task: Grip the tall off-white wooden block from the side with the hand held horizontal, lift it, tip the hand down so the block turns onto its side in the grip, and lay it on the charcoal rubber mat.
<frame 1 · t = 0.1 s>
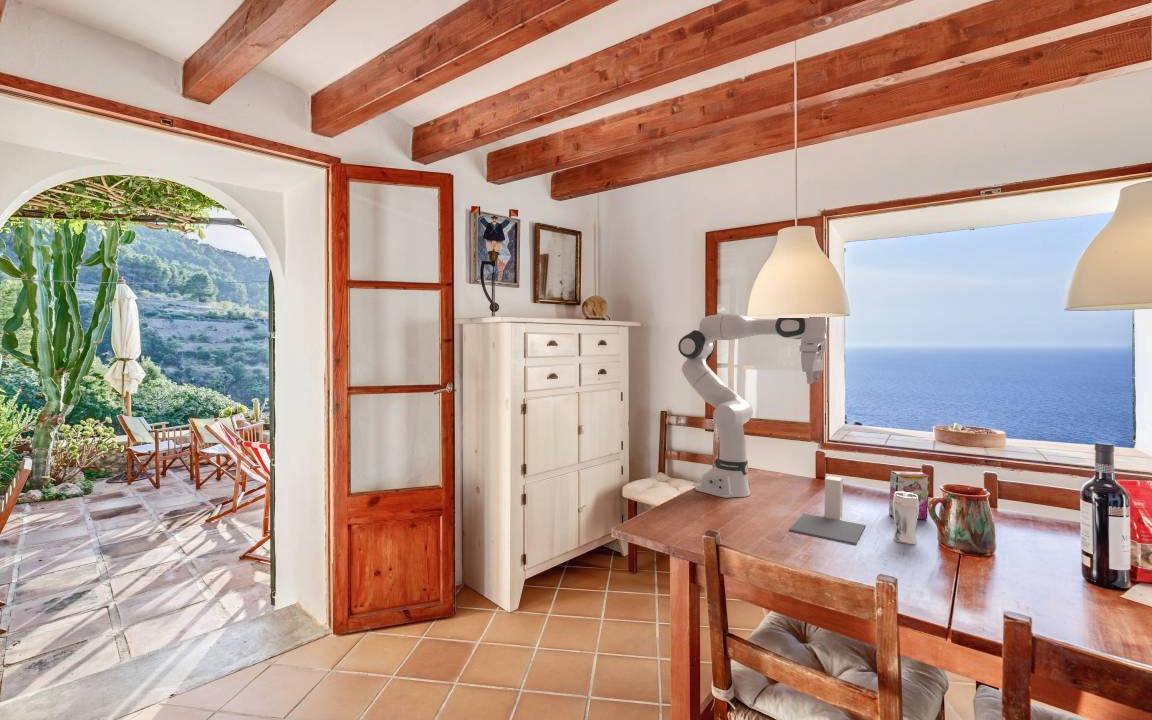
hand: (812, 383, 198), 48 cm above the table, tool pointing down, fingers open, 8 cm apart
white block: (833, 516, 188), on the table
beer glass: (904, 541, 165), on the table
candy bar box: (908, 518, 187), on the table
rubber mat: (827, 528, 176), on the table
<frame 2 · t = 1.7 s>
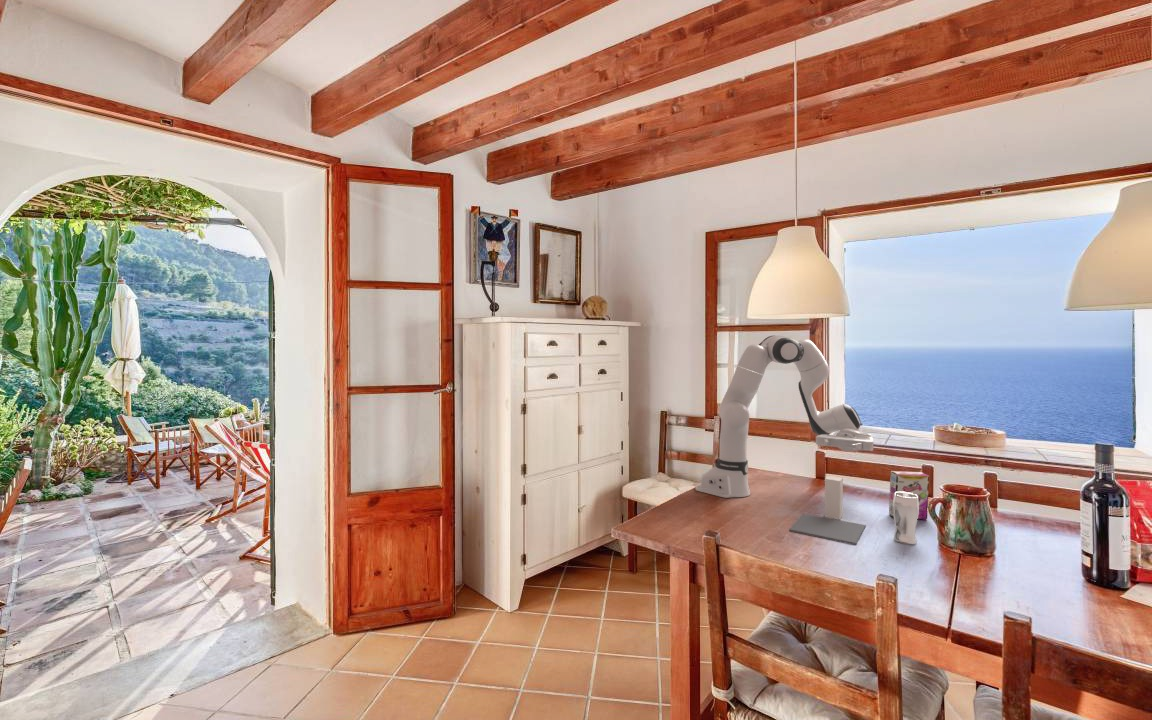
hand: (840, 445, 197), 24 cm above the table, tool horizontal, fingers open, 8 cm apart
nothing on the table moved.
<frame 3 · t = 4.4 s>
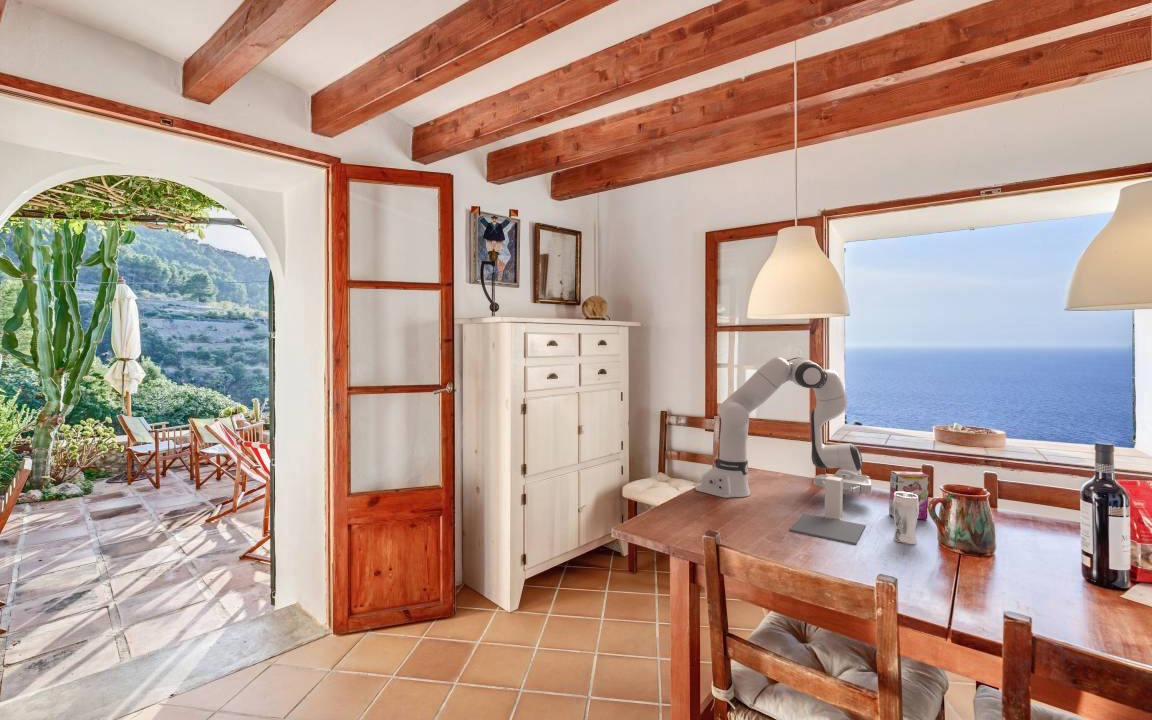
hand: (838, 488, 196), 8 cm above the table, tool horizontal, fingers open, 8 cm apart
nothing on the table moved.
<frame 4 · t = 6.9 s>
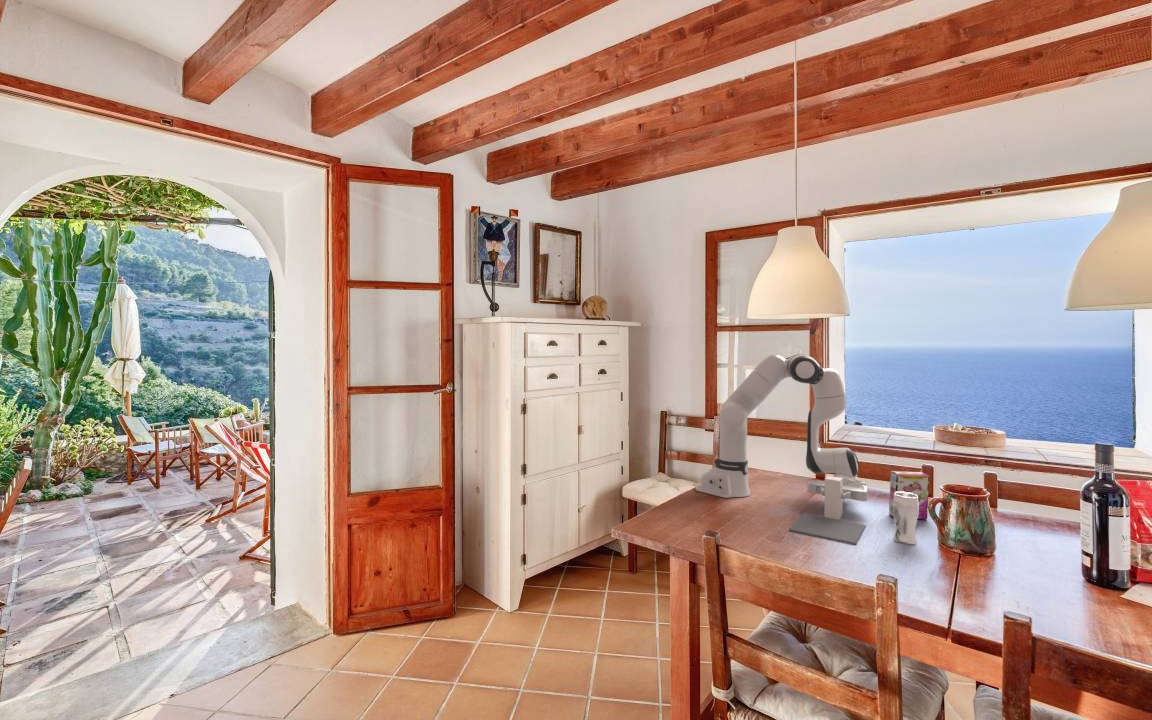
hand: (833, 495, 187), 8 cm above the table, tool horizontal, fingers closed on white block, 5 cm apart
white block: (833, 516, 188), on the table, touching gripper
everything else where it was.
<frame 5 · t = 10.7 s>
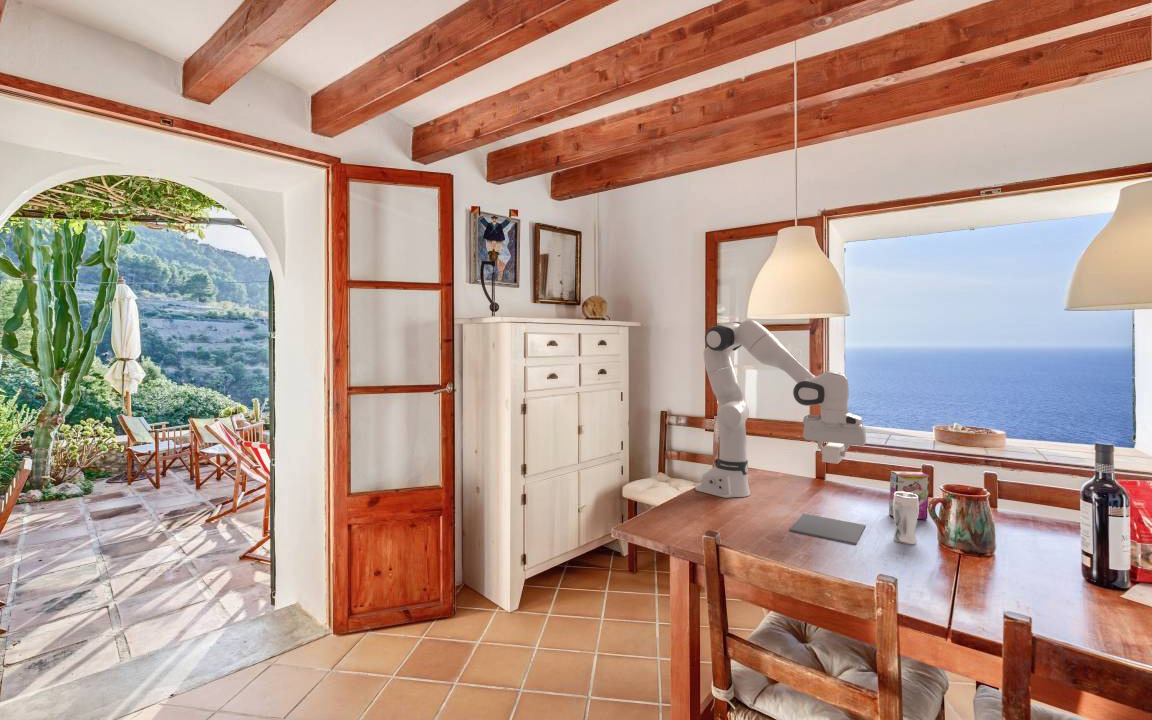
hand: (833, 454, 186), 23 cm above the table, tool pointing down, fingers closed on white block, 5 cm apart
white block: (837, 449, 193), point 24 cm above the table, tilted 90°, touching gripper
everything else where it was.
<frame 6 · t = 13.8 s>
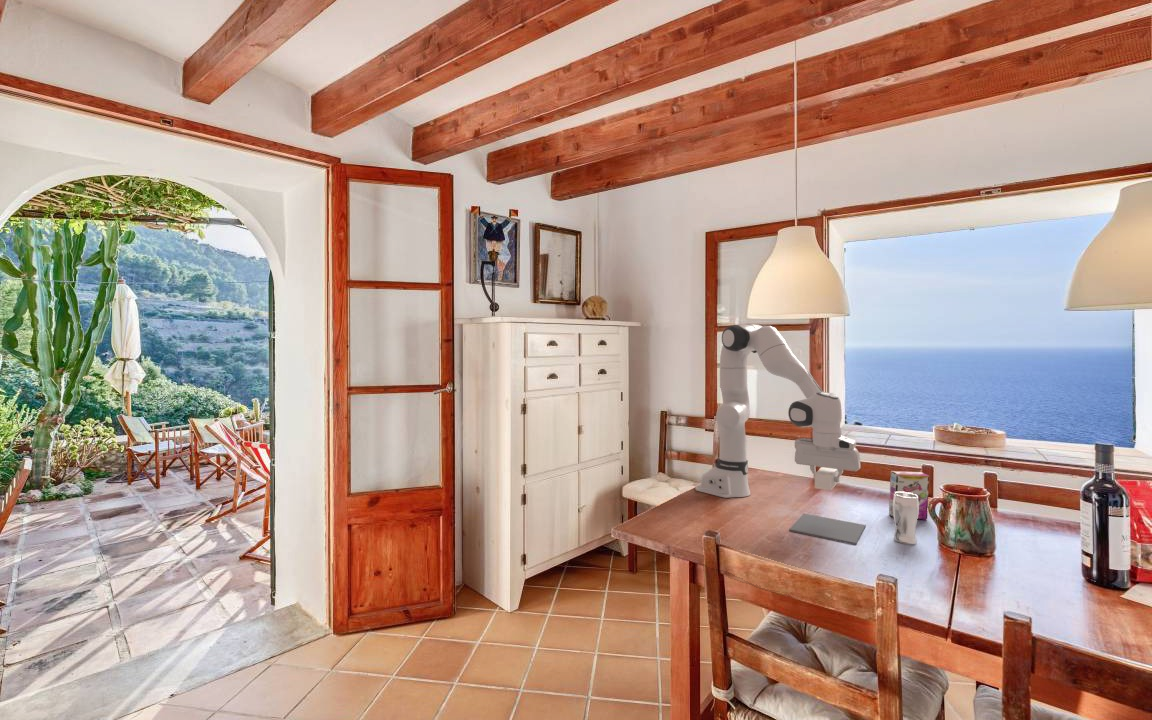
hand: (826, 480, 176), 16 cm above the table, tool pointing down, fingers closed on white block, 5 cm apart
white block: (831, 473, 183), point 17 cm above the table, tilted 90°, touching gripper
everything else where it was.
when the fingers open (5 cm above the table, at t = 16.3 s): white block drops 2 cm, resting on rubber mat.
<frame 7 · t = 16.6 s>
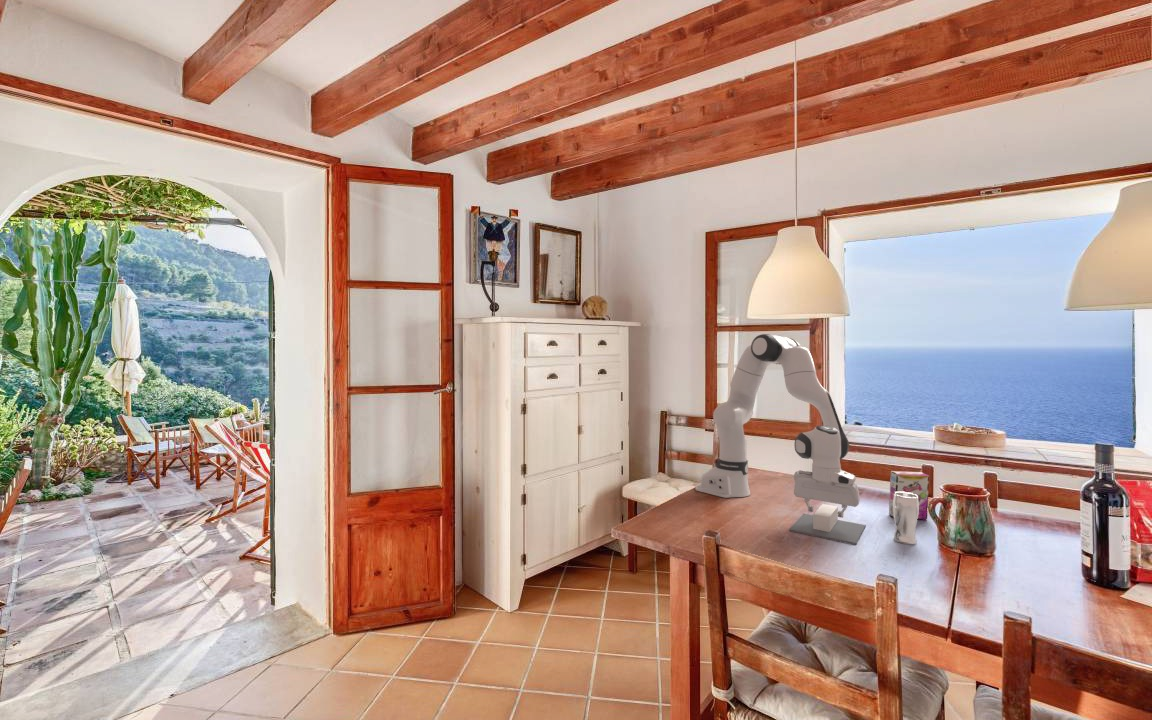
hand: (825, 514, 177), 5 cm above the table, tool pointing down, fingers open, 8 cm apart
white block: (830, 512, 184), point 3 cm above the table, tilted 90°, touching rubber mat
everything else where it was.
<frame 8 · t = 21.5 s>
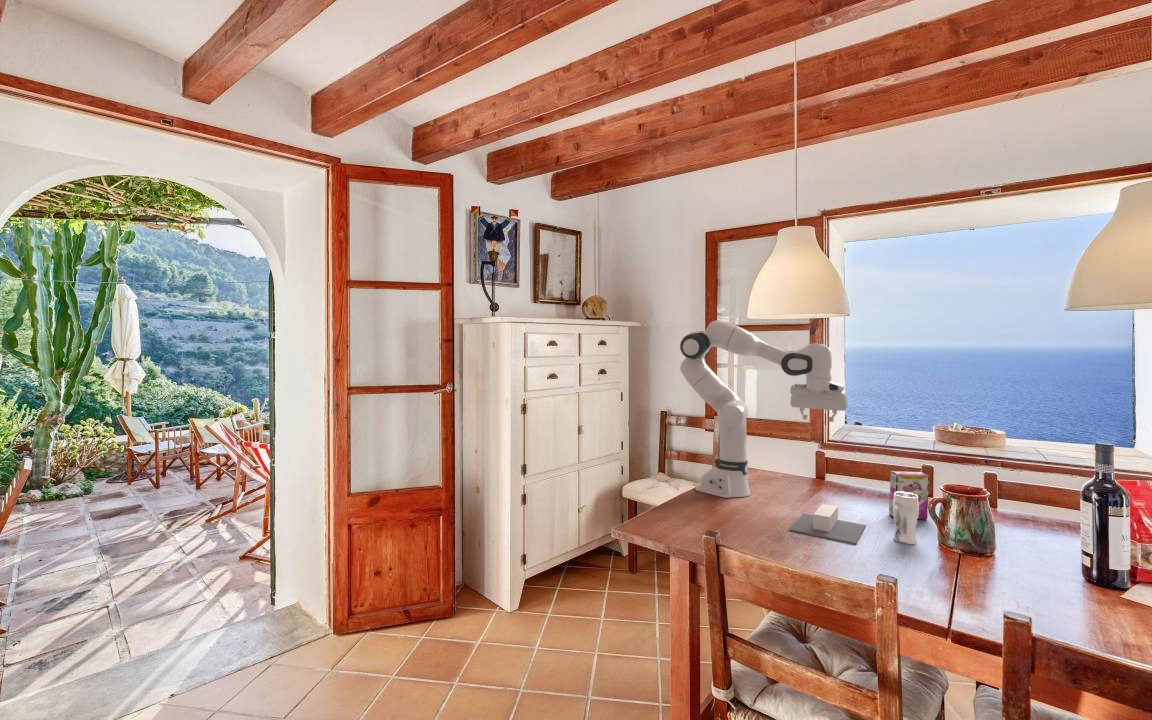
hand: (818, 420, 201), 33 cm above the table, tool pointing down, fingers open, 8 cm apart
nothing on the table moved.
at the end: white block tilted 90°; white block inside the target area (7.3 cm from its centre), point 3.1 cm above the table; the gripper is holding nothing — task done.
